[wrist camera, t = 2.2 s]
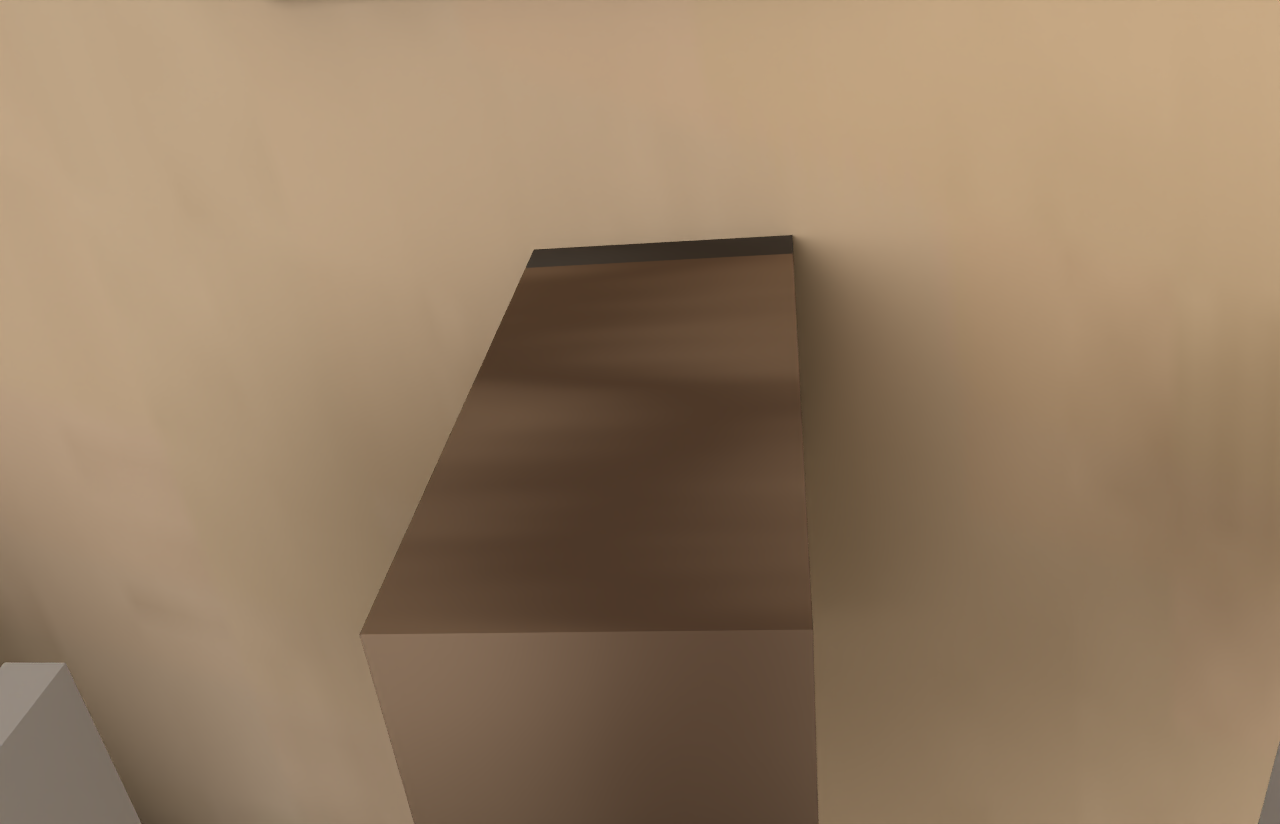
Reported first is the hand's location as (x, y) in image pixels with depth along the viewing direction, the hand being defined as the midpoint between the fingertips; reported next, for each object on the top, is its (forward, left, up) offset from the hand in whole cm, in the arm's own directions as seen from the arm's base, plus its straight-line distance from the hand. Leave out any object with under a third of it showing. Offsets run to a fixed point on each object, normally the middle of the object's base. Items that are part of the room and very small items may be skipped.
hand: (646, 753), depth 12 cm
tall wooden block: (0, 0, -10) cm, 10 cm away
